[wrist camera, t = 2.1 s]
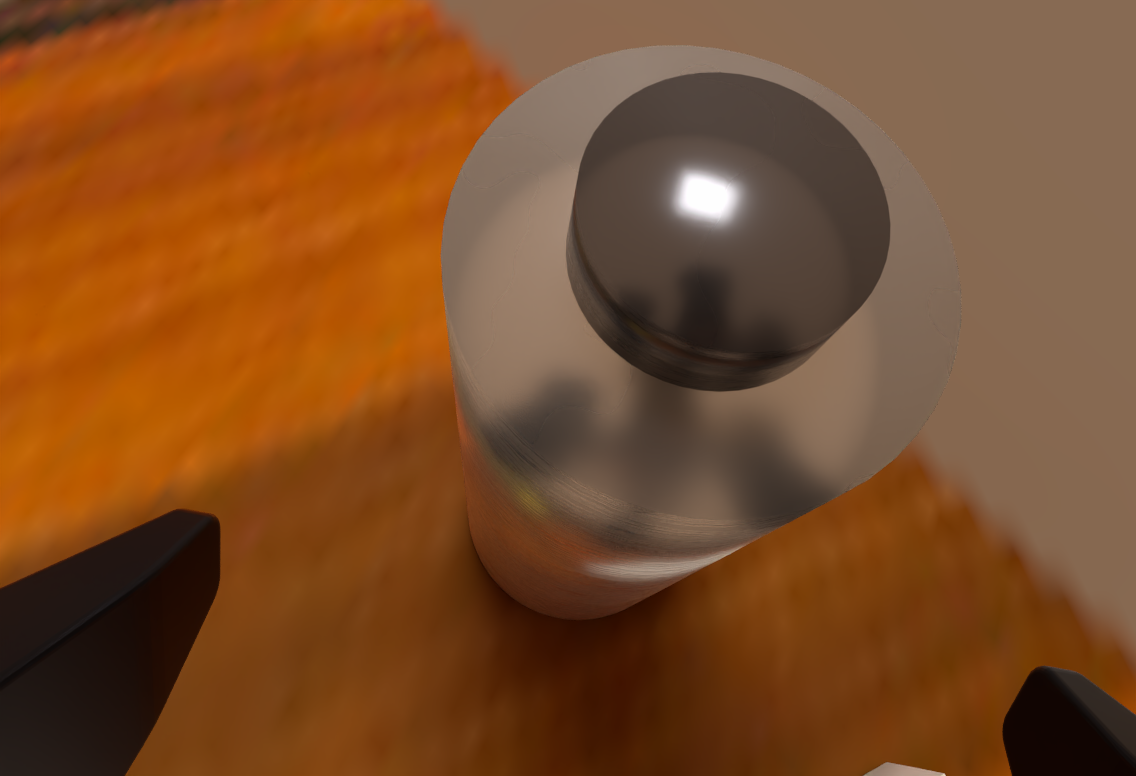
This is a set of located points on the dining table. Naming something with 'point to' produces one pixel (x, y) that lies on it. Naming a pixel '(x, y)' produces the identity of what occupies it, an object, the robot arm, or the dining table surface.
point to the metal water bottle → (681, 318)
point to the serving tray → (901, 771)
